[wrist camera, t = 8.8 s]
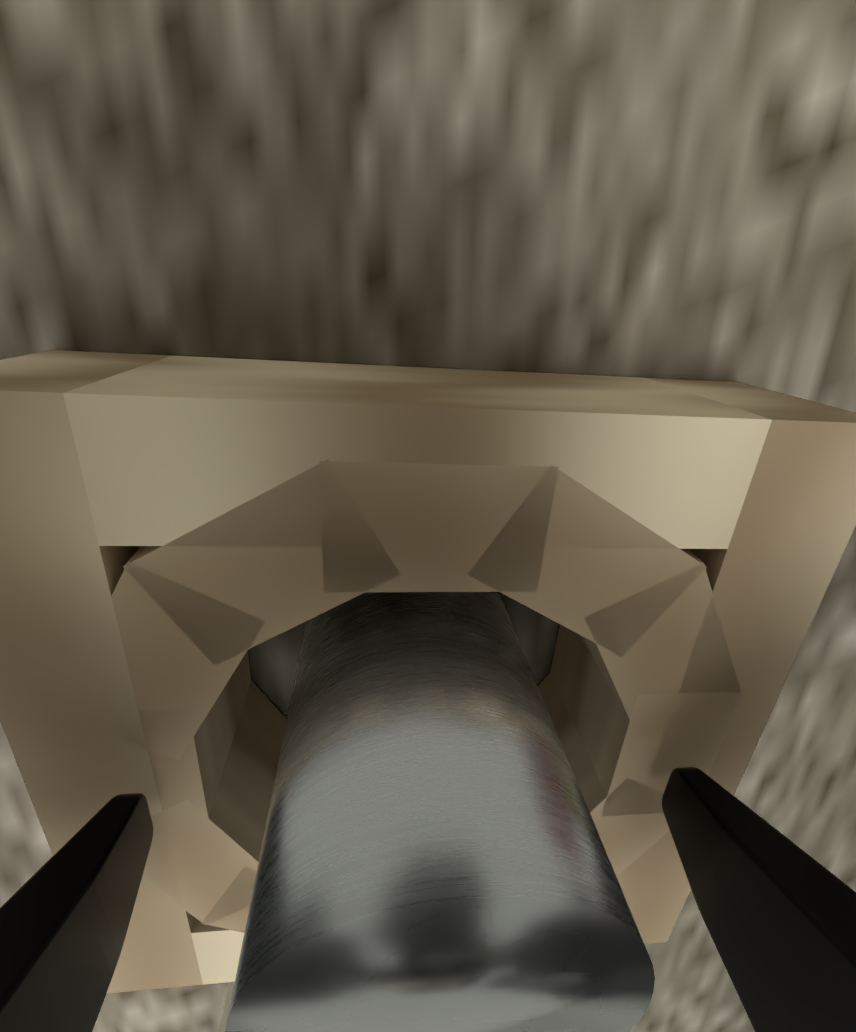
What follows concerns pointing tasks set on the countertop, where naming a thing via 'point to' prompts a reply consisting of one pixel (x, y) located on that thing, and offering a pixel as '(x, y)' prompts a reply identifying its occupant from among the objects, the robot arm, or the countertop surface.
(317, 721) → the cylinder
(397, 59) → the countertop surface
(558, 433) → the socket block
